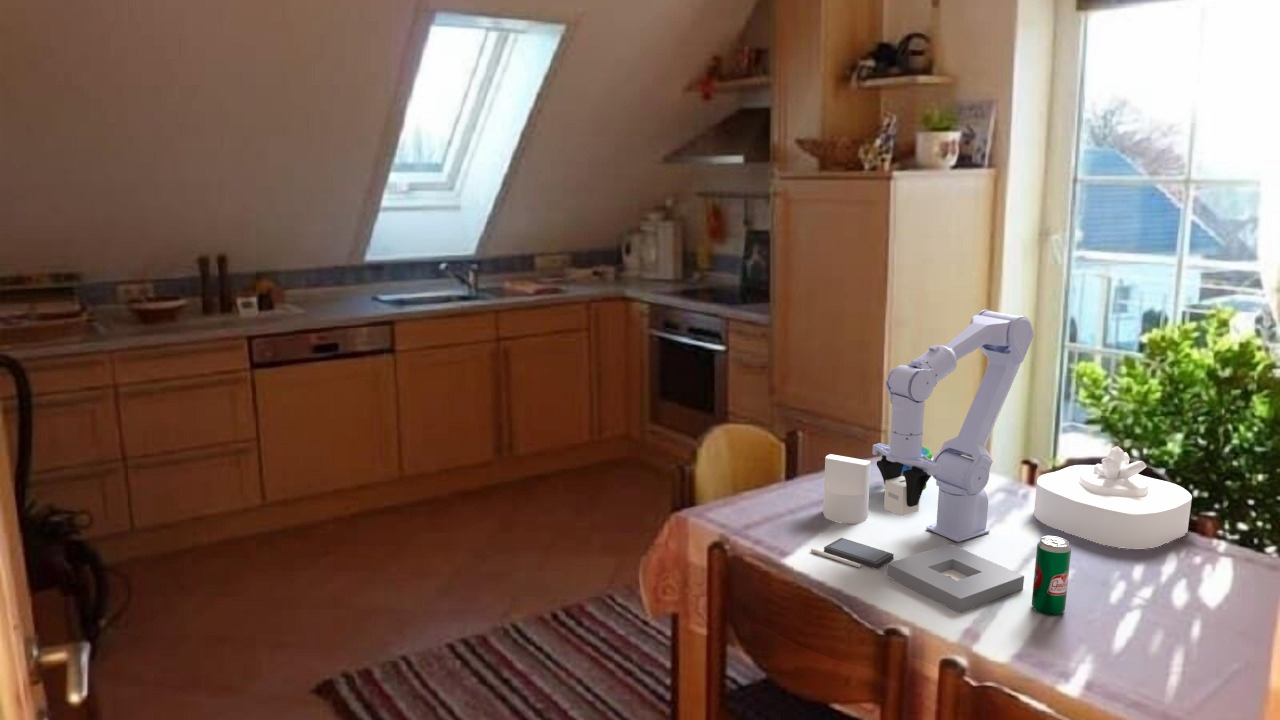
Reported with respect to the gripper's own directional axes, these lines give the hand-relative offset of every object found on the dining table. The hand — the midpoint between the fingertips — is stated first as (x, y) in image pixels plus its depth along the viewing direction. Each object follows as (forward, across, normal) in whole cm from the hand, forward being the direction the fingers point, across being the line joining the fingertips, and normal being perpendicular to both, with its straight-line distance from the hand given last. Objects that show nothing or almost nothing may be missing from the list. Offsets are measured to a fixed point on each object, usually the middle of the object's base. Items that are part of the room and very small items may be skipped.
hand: (902, 501), depth 180 cm
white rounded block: (+10, -18, +3) cm, 20 cm away
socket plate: (+9, +15, -3) cm, 18 cm away
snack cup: (+10, -20, +22) cm, 31 cm away
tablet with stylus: (+9, -2, -10) cm, 14 cm away
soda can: (+10, +30, +2) cm, 32 cm away
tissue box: (+10, +13, +46) cm, 49 cm away
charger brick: (+2, 0, 0) cm, 2 cm away
